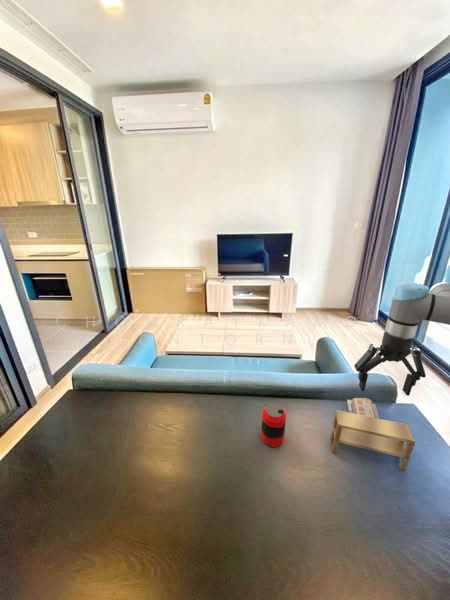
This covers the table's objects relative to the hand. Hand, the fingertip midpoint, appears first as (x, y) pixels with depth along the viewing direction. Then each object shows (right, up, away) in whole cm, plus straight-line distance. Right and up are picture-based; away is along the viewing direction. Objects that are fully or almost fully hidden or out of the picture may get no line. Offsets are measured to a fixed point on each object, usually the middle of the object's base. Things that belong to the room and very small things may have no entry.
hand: (383, 390), depth 83 cm
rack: (-8, -19, -3) cm, 21 cm away
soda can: (-37, -17, +2) cm, 40 cm away
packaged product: (-2, -15, +8) cm, 17 cm away
